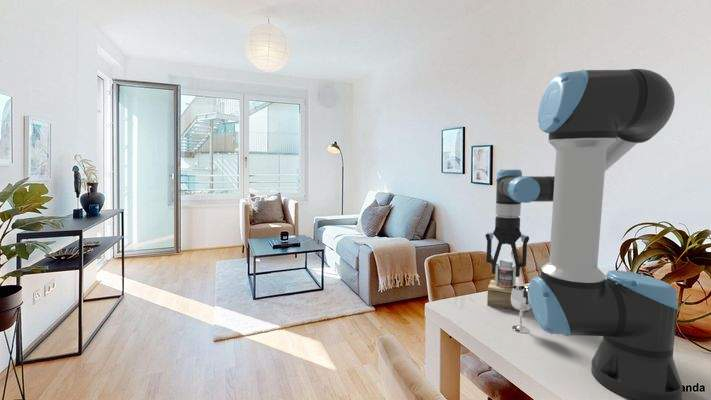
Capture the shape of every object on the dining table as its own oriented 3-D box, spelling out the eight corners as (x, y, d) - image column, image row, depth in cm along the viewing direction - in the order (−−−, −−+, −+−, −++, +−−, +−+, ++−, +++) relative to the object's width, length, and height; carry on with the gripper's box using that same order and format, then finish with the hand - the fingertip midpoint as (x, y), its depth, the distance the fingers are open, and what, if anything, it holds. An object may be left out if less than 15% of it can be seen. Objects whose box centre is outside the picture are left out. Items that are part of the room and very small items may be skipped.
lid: (528, 295, 111) (528, 293, 111) (487, 289, 116) (487, 287, 116) (528, 286, 120) (528, 284, 120) (491, 281, 125) (491, 279, 125)
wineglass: (505, 328, 100) (507, 288, 99) (515, 322, 104) (516, 283, 102) (526, 336, 96) (528, 293, 94) (535, 329, 99) (537, 288, 98)
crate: (527, 311, 111) (528, 296, 111) (487, 305, 117) (487, 290, 116) (527, 301, 120) (528, 286, 120) (490, 295, 126) (491, 281, 125)
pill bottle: (498, 286, 117) (498, 262, 116) (497, 282, 121) (497, 258, 121) (513, 288, 115) (514, 263, 115) (512, 283, 120) (512, 259, 119)
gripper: (537, 216, 115) (534, 285, 118) (481, 213, 123) (479, 277, 126) (538, 219, 109) (534, 292, 111) (477, 216, 117) (476, 284, 119)
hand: (505, 284), depth 118 cm, fingers closed on pill bottle, 5 cm apart
